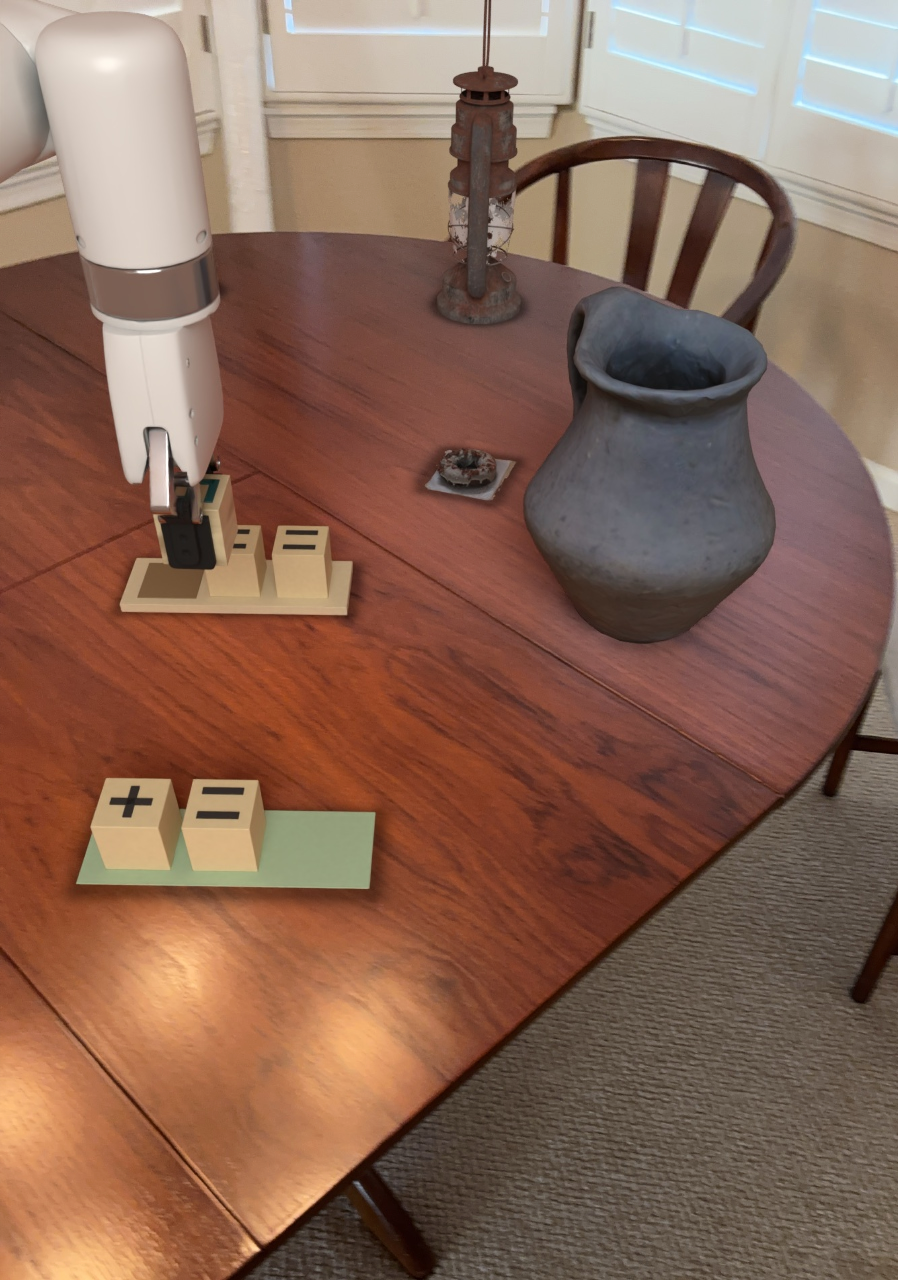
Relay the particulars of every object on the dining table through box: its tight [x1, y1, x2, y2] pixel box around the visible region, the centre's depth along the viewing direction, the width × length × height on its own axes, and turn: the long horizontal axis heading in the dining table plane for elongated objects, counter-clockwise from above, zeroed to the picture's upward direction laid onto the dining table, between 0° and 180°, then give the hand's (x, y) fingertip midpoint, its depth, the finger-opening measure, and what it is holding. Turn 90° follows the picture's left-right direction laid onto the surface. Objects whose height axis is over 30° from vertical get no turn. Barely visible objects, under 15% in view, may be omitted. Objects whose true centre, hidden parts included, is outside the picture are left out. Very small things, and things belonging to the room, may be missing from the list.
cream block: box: [152, 474, 238, 566], centre depth 73 cm, size 4×4×5 cm
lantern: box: [436, 0, 522, 325], centre depth 125 cm, size 11×16×35 cm
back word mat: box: [119, 524, 354, 616], centre depth 94 cm, size 20×7×6 cm, turn 89°
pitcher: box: [522, 286, 777, 645], centre depth 86 cm, size 21×22×25 cm
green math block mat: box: [75, 777, 376, 890], centre depth 73 cm, size 20×7×6 cm, turn 89°
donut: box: [424, 447, 517, 502], centre depth 108 cm, size 8×8×2 cm
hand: (200, 542), depth 75 cm, fingers closed on cream block, 4 cm apart
